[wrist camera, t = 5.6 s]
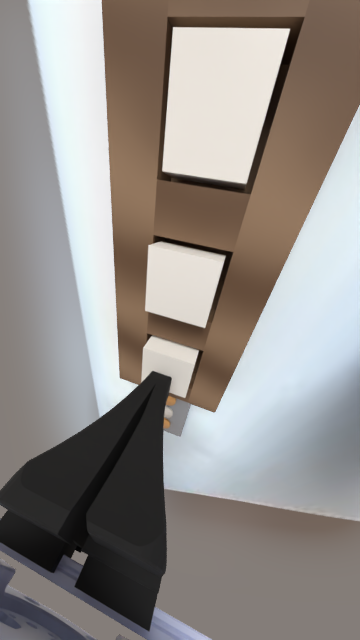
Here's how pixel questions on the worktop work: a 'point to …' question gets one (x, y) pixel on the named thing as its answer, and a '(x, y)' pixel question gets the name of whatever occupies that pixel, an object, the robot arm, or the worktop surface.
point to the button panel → (213, 200)
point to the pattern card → (175, 415)
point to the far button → (170, 362)
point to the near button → (219, 101)
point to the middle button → (182, 282)
